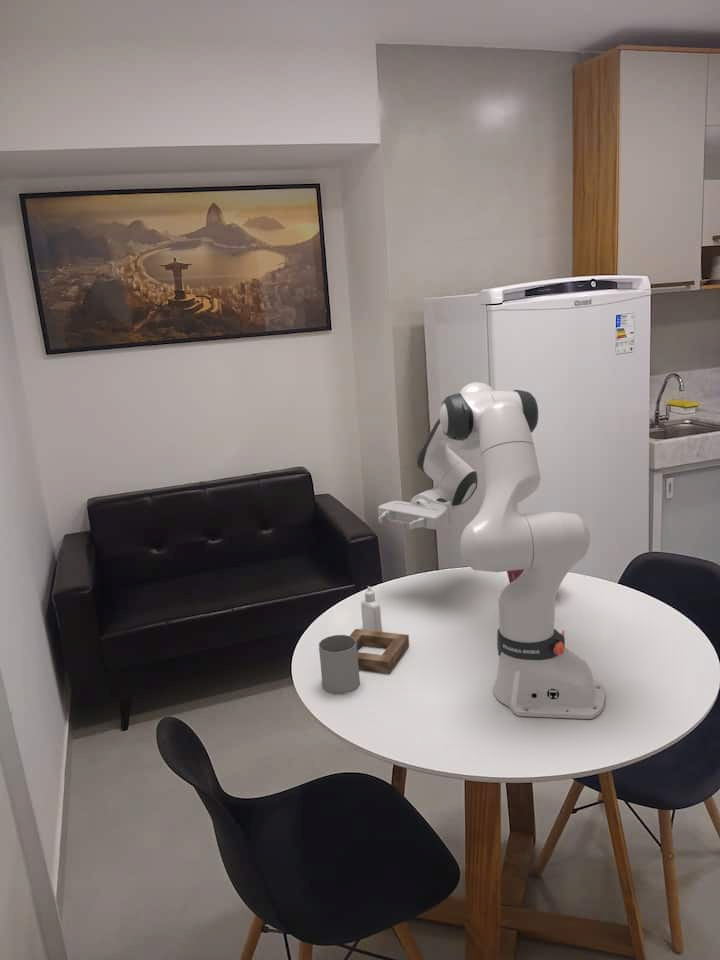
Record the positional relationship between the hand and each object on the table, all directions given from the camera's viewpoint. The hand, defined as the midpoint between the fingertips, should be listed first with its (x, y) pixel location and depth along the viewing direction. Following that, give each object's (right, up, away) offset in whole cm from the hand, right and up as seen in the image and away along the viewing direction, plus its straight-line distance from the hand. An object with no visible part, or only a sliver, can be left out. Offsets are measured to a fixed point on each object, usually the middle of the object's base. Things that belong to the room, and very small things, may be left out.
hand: (394, 523), depth 190 cm
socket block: (-6, -31, -16) cm, 35 cm away
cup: (-13, -34, -27) cm, 46 cm away
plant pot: (+38, -21, +11) cm, 45 cm away
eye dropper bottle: (-6, -28, -2) cm, 28 cm away
